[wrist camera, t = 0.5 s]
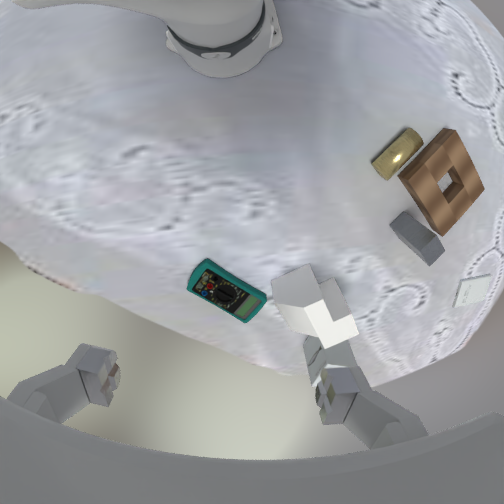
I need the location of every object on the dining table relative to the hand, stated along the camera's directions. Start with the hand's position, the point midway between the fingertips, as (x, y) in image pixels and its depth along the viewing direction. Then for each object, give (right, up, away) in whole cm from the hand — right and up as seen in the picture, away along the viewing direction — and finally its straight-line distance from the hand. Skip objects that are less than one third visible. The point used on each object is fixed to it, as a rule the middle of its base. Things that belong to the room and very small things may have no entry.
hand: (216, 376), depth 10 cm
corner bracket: (+12, -3, +46) cm, 48 cm away
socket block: (+39, +19, +36) cm, 56 cm away
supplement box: (+17, -14, +52) cm, 57 cm away
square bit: (+31, +10, +41) cm, 52 cm away
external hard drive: (+59, -5, +49) cm, 77 cm away
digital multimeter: (-3, -2, +47) cm, 47 cm away
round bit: (+27, +23, +35) cm, 49 cm away
